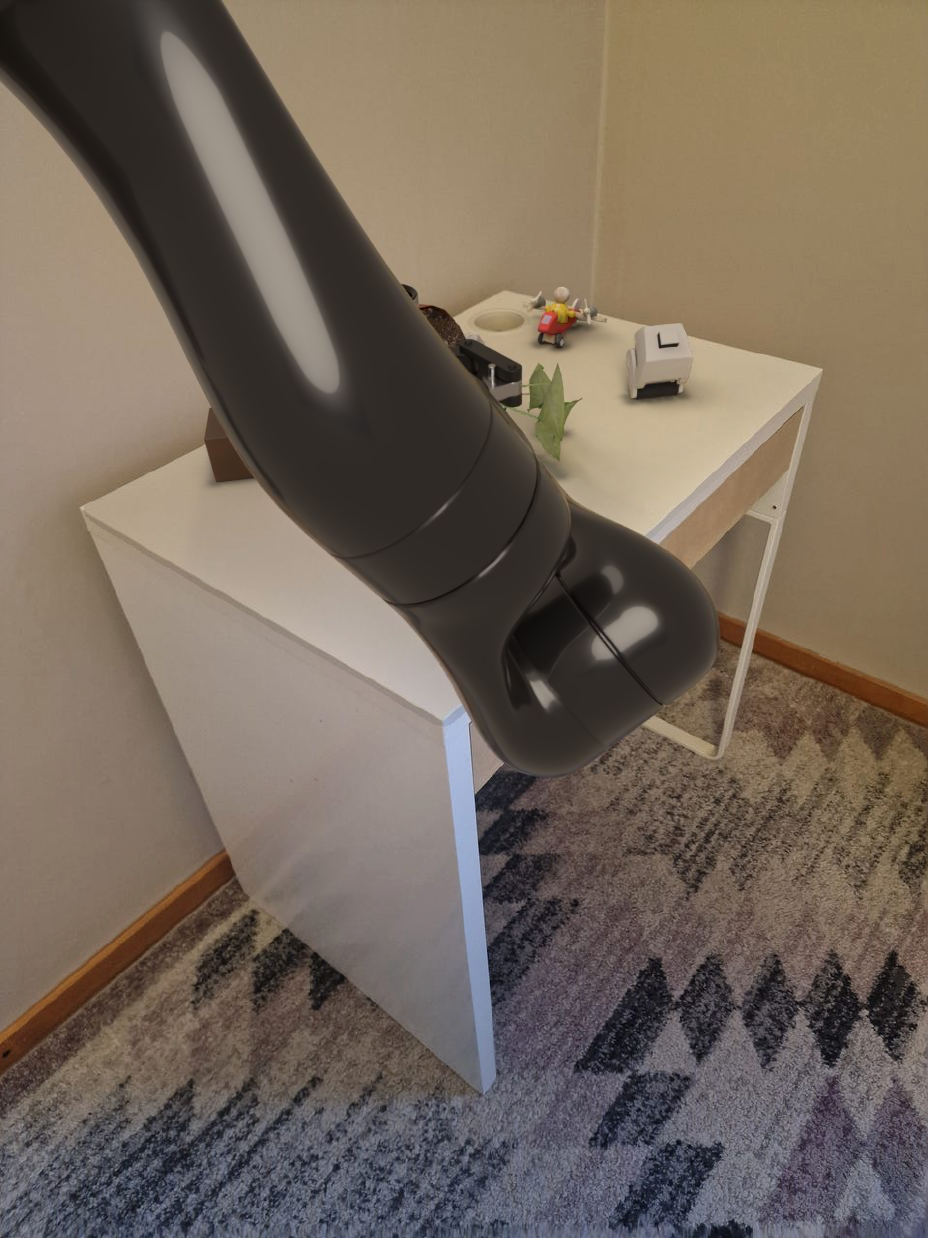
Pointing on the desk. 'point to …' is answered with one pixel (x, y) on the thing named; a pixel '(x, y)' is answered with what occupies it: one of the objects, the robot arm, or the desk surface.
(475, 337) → the grey rock
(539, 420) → the potted plant
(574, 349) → the desk surface
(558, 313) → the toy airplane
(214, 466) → the block
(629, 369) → the white boxy gadget
